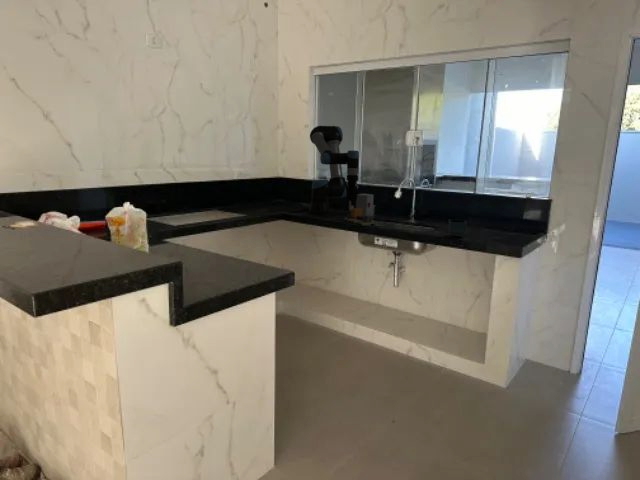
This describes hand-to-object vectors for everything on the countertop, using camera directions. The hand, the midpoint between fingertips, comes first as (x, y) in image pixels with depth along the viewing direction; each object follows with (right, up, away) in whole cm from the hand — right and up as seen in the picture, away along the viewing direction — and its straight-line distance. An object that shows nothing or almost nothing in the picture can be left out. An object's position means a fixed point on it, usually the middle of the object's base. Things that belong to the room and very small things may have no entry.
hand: (351, 210), depth 299 cm
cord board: (+6, -8, -8) cm, 13 cm away
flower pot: (+57, -18, -43) cm, 74 cm away
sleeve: (+3, -5, -4) cm, 7 cm away
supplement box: (+10, -3, +15) cm, 19 cm away
